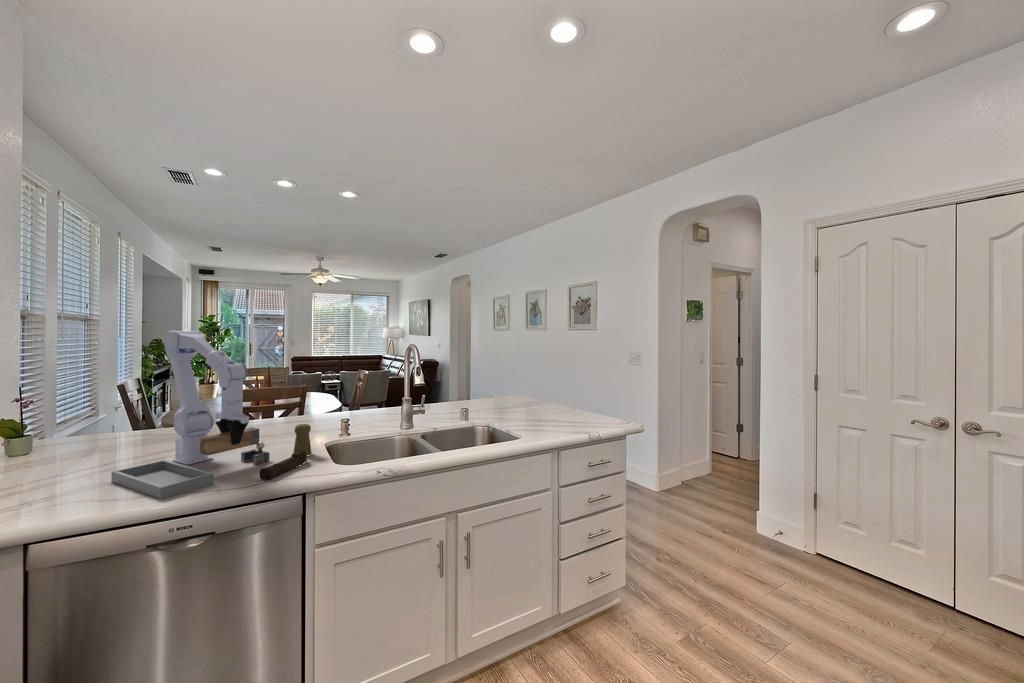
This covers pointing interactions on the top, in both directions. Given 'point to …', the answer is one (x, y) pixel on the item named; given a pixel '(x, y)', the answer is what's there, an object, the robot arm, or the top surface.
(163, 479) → the tray
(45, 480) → the top surface
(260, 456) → the stud bracket
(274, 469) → the hand tool
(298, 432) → the olive bottle
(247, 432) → the strut
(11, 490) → the top surface
